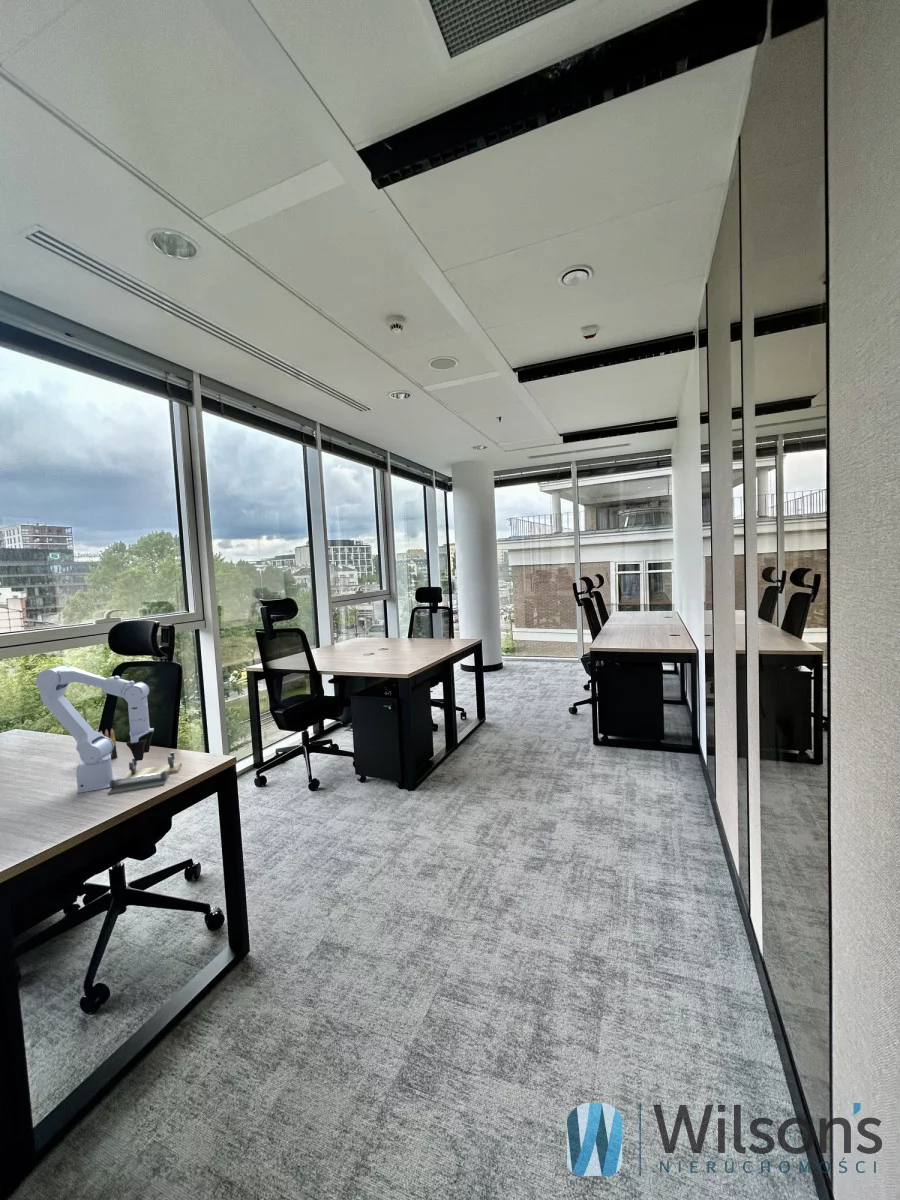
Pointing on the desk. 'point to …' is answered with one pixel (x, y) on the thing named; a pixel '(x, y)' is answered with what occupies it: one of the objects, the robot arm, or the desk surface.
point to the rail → (137, 779)
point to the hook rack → (153, 768)
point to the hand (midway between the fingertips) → (142, 756)
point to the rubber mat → (137, 786)
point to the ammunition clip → (113, 752)
